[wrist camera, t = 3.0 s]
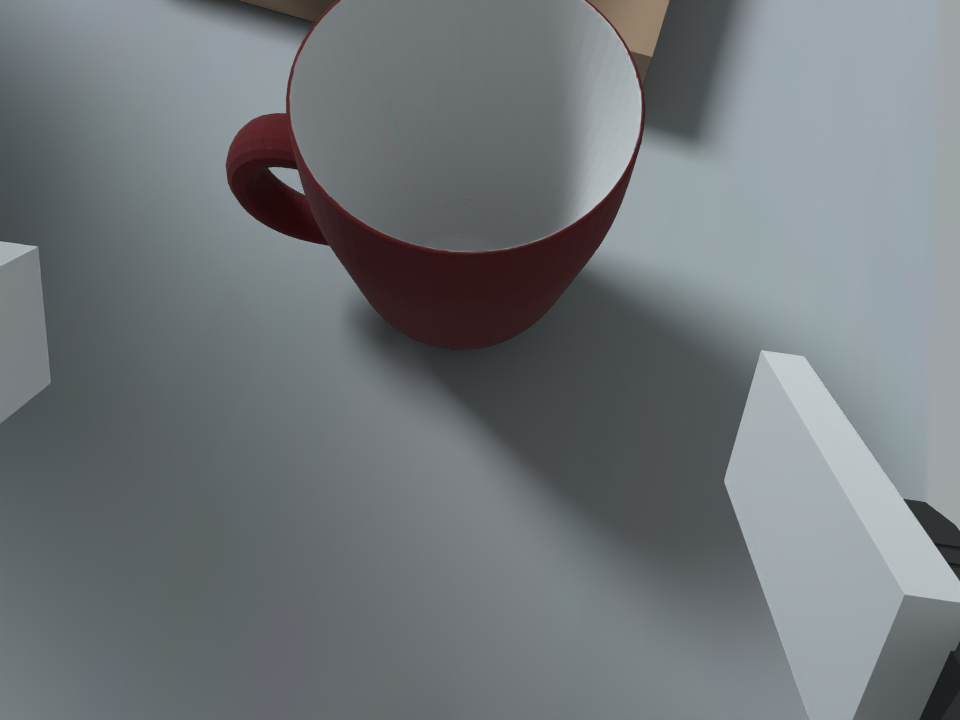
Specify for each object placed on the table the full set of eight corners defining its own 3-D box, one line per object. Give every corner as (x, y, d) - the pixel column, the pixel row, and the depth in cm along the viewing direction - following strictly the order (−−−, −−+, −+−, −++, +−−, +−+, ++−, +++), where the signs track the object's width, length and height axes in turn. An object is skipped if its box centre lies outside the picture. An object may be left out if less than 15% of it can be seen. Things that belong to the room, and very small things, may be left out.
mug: (247, 394, 27) (139, 241, 17) (277, 173, 29) (199, -61, 20) (581, 409, 27) (654, 267, 18) (580, 188, 30) (642, -35, 20)
